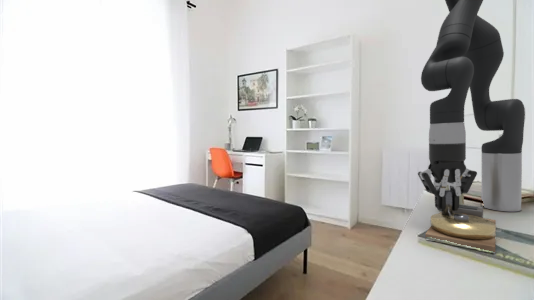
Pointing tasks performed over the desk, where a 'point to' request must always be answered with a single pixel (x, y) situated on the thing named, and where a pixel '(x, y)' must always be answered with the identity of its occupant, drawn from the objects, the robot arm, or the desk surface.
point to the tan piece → (478, 243)
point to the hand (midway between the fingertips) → (447, 209)
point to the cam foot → (461, 222)
